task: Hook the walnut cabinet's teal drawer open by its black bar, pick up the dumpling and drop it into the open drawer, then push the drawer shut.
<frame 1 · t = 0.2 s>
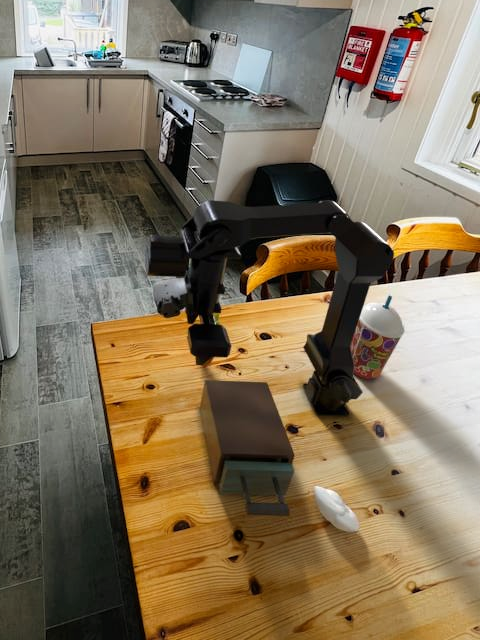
hand: (194, 342, 72), 15 cm above the table, tool pointing down, fingers open, 9 cm apart
drawer: (250, 458, 64), point 4 cm above the table, slide at 0.5 cm
carrot: (203, 366, 85), on the table
dumpling: (332, 516, 61), on the table
smoothie: (360, 368, 86), on the table
cabinet: (238, 444, 70), on the table
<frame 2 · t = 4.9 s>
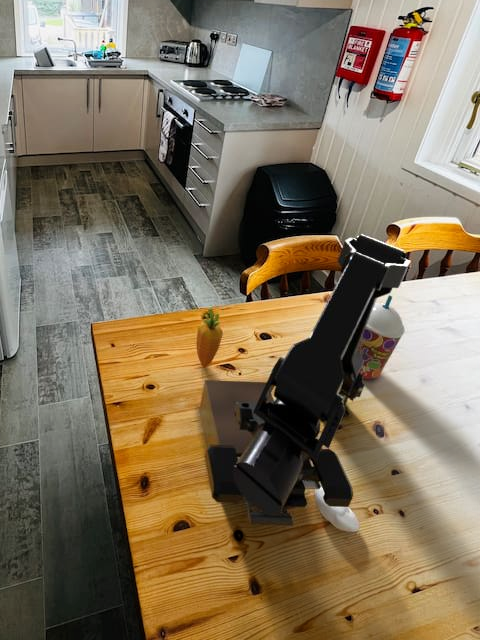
hand: (264, 508, 58), 4 cm above the table, tool pointing down, fingers closed
drawer: (252, 466, 63), point 4 cm above the table, slide at 1.6 cm
everything else where it was.
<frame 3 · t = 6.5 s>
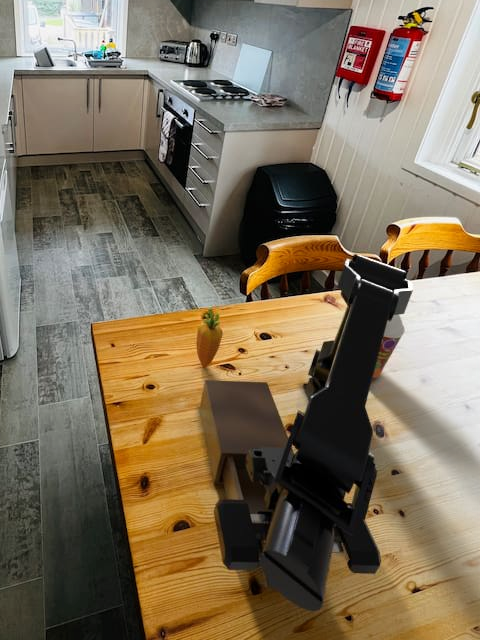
hand: (279, 569, 52), 4 cm above the table, tool pointing down, fingers closed, pressing on drawer
drawer: (266, 516, 57), point 4 cm above the table, slide at 8.2 cm, touching gripper
everything else where it was.
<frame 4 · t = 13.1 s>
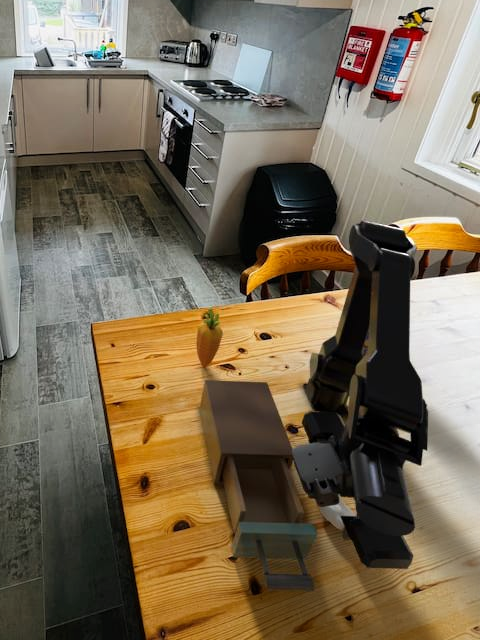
hand: (334, 511, 61), 1 cm above the table, tool pointing down, fingers closed on dumpling, 6 cm apart
drawer: (266, 516, 57), point 4 cm above the table, slide at 8.2 cm
dumpling: (332, 516, 61), on the table, touching gripper
everything else where it was.
when the fingers open (8 cm above the table, at t = 23.2 s): dumpling drops 4 cm, resting on drawer.
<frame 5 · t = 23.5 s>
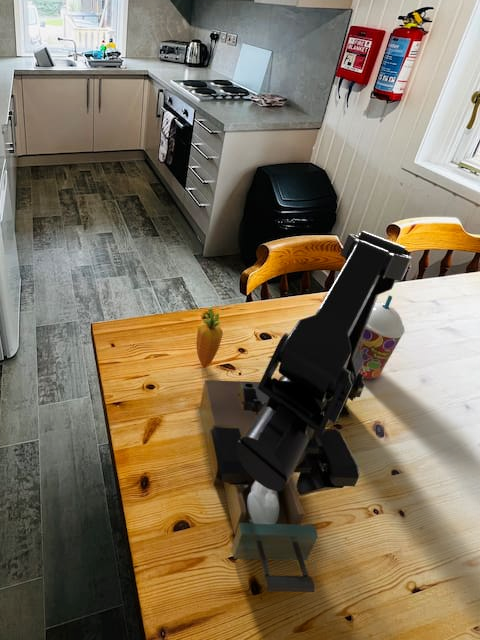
hand: (268, 490, 57), 8 cm above the table, tool pointing down, fingers open, 9 cm apart
drawer: (266, 517, 57), point 4 cm above the table, slide at 8.3 cm, touching dumpling
dumpling: (259, 511, 59), point 2 cm above the table, touching drawer
everything else where it was.
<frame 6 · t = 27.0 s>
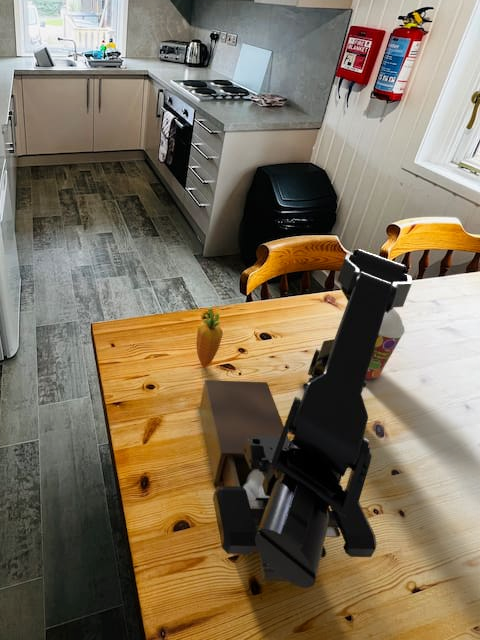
hand: (277, 554, 53), 4 cm above the table, tool pointing down, fingers closed
drawer: (264, 509, 58), point 4 cm above the table, slide at 7.4 cm, touching dumpling
dumpling: (256, 504, 60), point 2 cm above the table, touching drawer
everything else where it was.
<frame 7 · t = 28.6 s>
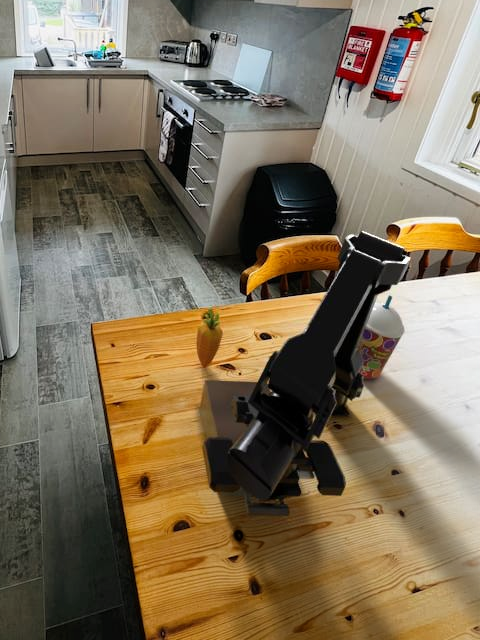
hand: (260, 498, 60), 3 cm above the table, tool pointing down, fingers closed, pressing on drawer
drawer: (250, 458, 64), point 4 cm above the table, slide at 0.5 cm, touching dumpling, gripper
dumpling: (243, 456, 67), point 2 cm above the table, touching drawer
everything else where it was.
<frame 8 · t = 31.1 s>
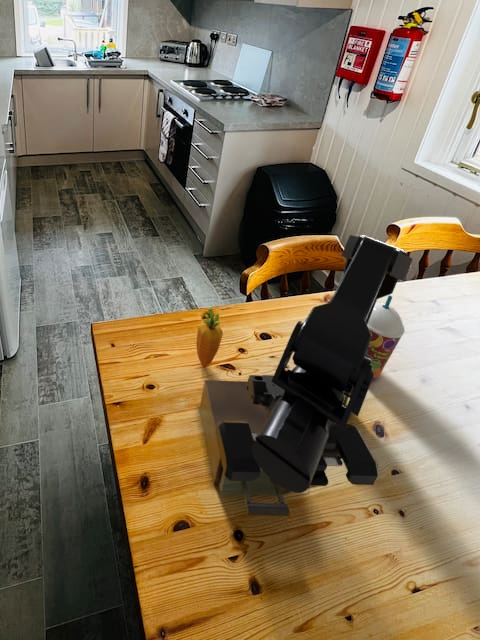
hand: (279, 489, 53), 12 cm above the table, tool pointing down, fingers closed
drawer: (250, 458, 64), point 4 cm above the table, slide at 0.5 cm, touching dumpling
everything else where it was.
at the end: drawer pulled out 8.3 cm at the most during the clip, back to 0.5 cm at the end; dumpling inside the target area in the cabinet (3.0 cm from its centre), point 1.8 cm above the cabinet's base; drawer slide at 0.5 cm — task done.
